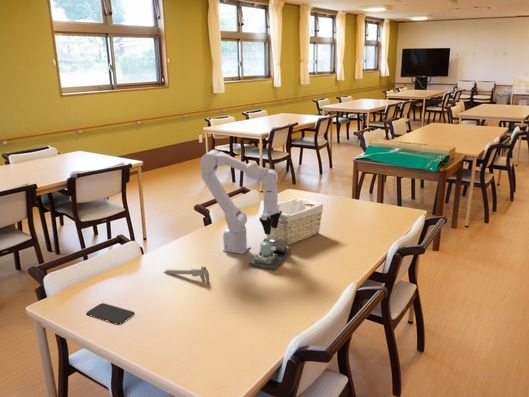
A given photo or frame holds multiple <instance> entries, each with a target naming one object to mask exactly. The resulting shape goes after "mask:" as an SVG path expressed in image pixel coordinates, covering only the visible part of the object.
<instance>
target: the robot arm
mask: <svg viewBox="0 0 529 397" xmlns="http://www.w3.org/2000/svg"><path fill="white" fill-rule="evenodd" d="M199 166H200V171H201V172H200V173H201V179H202V180H203V182H204V183H205V185H206V187H207V188H208V189H209V192H210V194H212V197H214V199H215V201H216V202H217V204H218V206H219V208H220V209H221V210H222V211H223V213H224V220H225V221H226V224H227V228H226V229H225V230H224V231H223V238H222V239H223V249H222V252H227V253H233V254H235V253H236V254H240V255H243V254H244V253H246V252H247V251H248V250H249V249H251V246H250V245H248V244H247V243H248V242H247V228H246V226H245V225H246V223H247V222H248V217H247V215H246V213H244V212H242V211H241V210H240V208H239V207H237V206H236V205H235V204H234V203H233V201H232V199H231V197H230V196H229V195H228V193H227V191H226V189H225V188H224V186H223V185H222V183H221V181H220V180H219V178H218V177H217V175H216V173H217V170H218V168H219V167H223V166H227V167H231V168H232V169H236V170H239V171H241V172H244V174H245V176H246V177H249V178H250V179H253V180H256V181H258V182H260V183H262V185H263V191H262V192H263V210H262V214H261V216H260V217H259V219H258V220H259V222H260V223H261V225H262V228H263V232H264V234H265V235H266V234H269V235H270V232H271V226H272V228H277V226H278V221H279V218H280V215H281V213H282V211H280V210H279V205H278V203H279V202H278V200H279V199H278V183H277V181H278V180H279V174H278V172H277V171H276V170H275V169H273V168H270V169H269V167H268V168H267V167H263V166H261V165H258V163H257V162H250V163H246V162H244V161H242V160H239V159H237V158H235V157H233V156H231V155H229V154H227V153H225V152H223V151H220V150H218V149H211V150H209V152H207V153H205V154H203V155H202V156H201V158H200V161H199ZM269 216H270V218H269Z"/></svg>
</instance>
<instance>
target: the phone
mask: <svg viewBox="0 0 529 397" xmlns="http://www.w3.org/2000/svg"><path fill="white" fill-rule="evenodd" d="M87 314H89V315H92V316H95V317H98V318H101V319H100V320H102V319H104V320H103V321H105V320H108V321H110V322H109V323H111V322H114V323H117V324H116V325H118V324H120V323H122V322H124V321H125V320H127V319H128V318H130V317H131V316H132V315H134V314H135V311H132V310H129V309H125V308H121V307H119V306H115V305H112V304H108V303H103V302H102V303H100V304H98V305H96V306H94V307H92V308H90V309H89V310H88V311H86V315H87ZM89 315H88V316H89ZM92 316H91V317H92ZM134 316H135V315H134ZM95 317H94V318H95ZM132 317H133V316H132ZM132 317H131V318H132ZM98 318H97V319H98ZM131 318H130V319H131ZM128 320H129V319H128ZM128 320H127V321H128ZM108 321H107V322H108ZM125 322H126V321H125ZM125 322H124V323H125ZM114 323H113V324H114ZM122 324H123V323H122ZM120 325H121V324H120Z"/></svg>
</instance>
